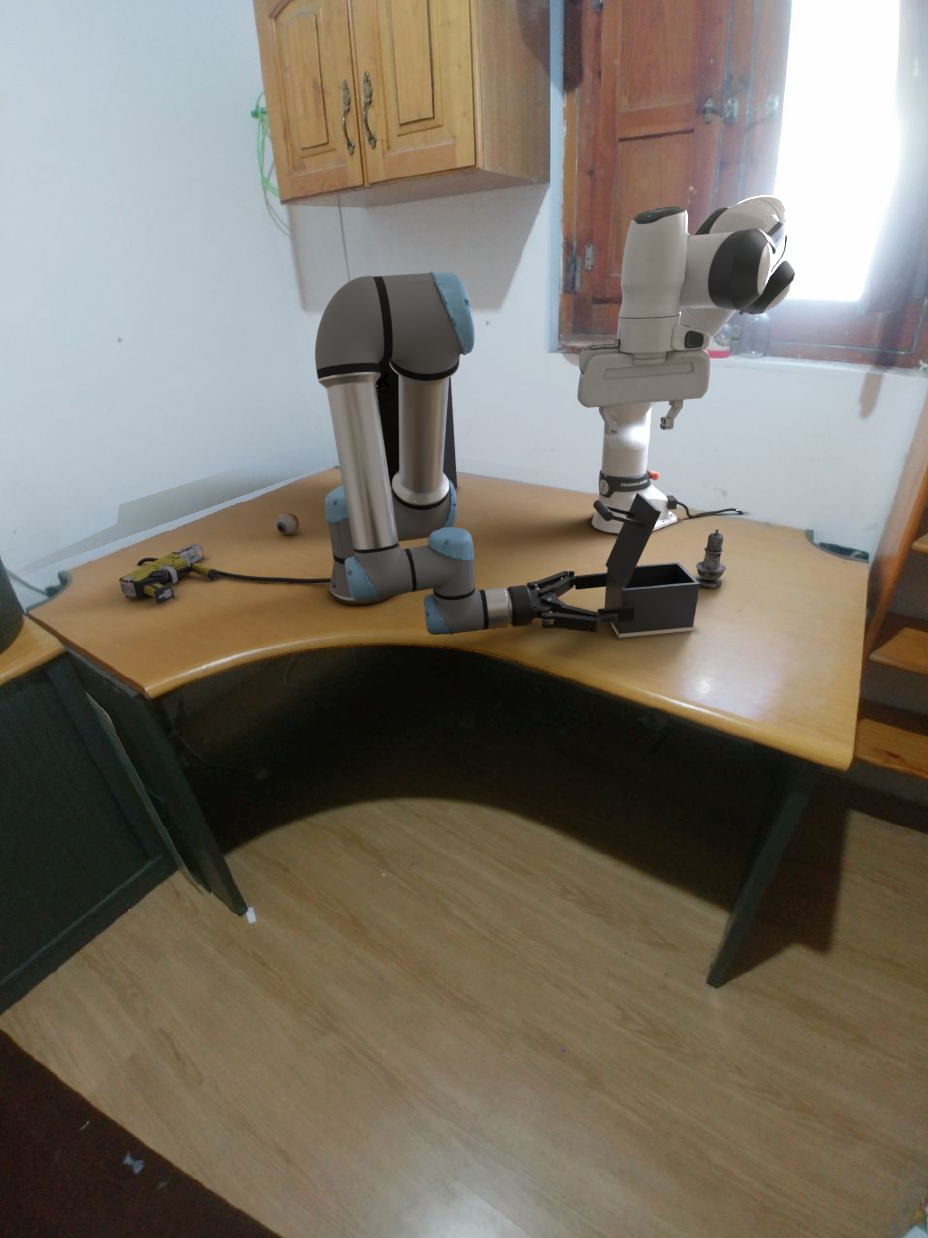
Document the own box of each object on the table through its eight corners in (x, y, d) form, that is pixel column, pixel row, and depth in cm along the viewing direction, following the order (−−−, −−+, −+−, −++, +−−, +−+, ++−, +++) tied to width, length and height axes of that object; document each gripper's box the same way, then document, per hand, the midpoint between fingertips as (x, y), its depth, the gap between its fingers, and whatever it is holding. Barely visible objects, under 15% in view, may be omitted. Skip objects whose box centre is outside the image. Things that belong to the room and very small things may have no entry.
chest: (672, 606, 120) (679, 561, 115) (692, 630, 112) (700, 583, 107) (603, 612, 119) (607, 568, 115) (618, 637, 111) (623, 590, 106)
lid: (641, 493, 108) (598, 481, 106) (661, 511, 100) (615, 498, 98) (609, 566, 114) (568, 555, 112) (626, 588, 106) (581, 577, 104)
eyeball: (273, 537, 164) (268, 516, 161) (287, 528, 169) (282, 508, 166) (291, 539, 161) (286, 518, 158) (305, 530, 166) (301, 510, 163)
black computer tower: (424, 530, 162) (407, 348, 139) (353, 528, 166) (326, 351, 144) (457, 486, 193) (448, 332, 171) (397, 485, 198) (380, 334, 175)
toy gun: (240, 551, 148) (190, 541, 152) (168, 591, 128) (113, 578, 132) (243, 568, 150) (193, 558, 154) (172, 610, 130) (117, 597, 134)
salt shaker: (725, 588, 125) (735, 534, 119) (695, 587, 126) (703, 534, 120) (720, 576, 130) (730, 523, 124) (692, 575, 131) (700, 523, 125)
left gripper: (497, 594, 123) (597, 583, 125) (522, 661, 102) (643, 647, 104) (496, 560, 120) (600, 550, 121) (522, 623, 98) (648, 609, 100)
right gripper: (586, 344, 87) (582, 441, 94) (721, 334, 89) (707, 430, 96) (573, 340, 92) (570, 432, 99) (700, 331, 94) (688, 422, 101)
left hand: (620, 595), depth 113 cm, fingers open, 13 cm apart
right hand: (638, 431), depth 97 cm, fingers open, 8 cm apart
